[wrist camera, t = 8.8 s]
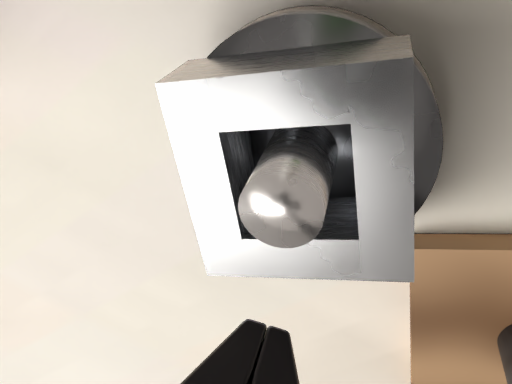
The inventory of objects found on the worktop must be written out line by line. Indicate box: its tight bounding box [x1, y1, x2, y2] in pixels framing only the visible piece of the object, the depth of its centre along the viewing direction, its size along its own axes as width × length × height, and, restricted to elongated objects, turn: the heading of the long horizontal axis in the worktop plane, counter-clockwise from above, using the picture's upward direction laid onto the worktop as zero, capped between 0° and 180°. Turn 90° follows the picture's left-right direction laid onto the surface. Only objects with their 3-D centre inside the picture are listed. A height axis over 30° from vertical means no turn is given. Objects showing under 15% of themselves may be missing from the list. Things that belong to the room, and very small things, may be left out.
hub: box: [207, 6, 443, 248], centre depth 15 cm, size 9×9×6 cm
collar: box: [155, 34, 414, 282], centre depth 15 cm, size 7×7×3 cm
